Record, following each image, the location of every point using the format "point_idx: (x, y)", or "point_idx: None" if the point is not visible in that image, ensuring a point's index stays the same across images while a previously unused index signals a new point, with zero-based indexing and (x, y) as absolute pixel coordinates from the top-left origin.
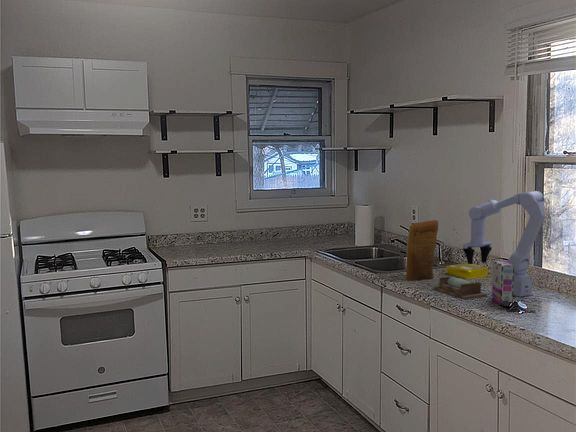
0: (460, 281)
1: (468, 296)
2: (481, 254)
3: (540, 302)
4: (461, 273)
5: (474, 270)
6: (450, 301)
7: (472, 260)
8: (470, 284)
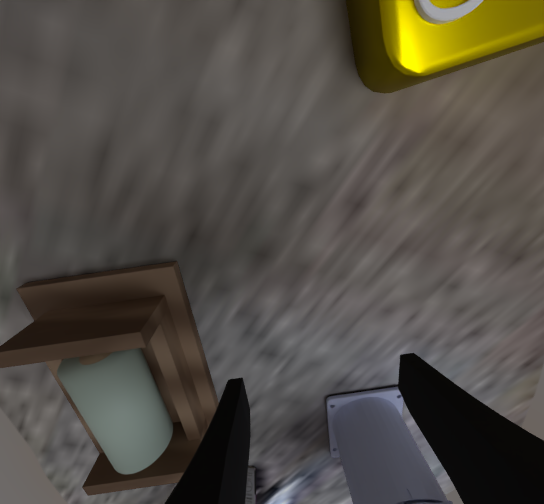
0: (102, 447)
1: None
2: (466, 425)
3: (344, 498)
4: (362, 3)
5: (466, 59)
6: (55, 454)
7: (245, 457)
8: (135, 485)
